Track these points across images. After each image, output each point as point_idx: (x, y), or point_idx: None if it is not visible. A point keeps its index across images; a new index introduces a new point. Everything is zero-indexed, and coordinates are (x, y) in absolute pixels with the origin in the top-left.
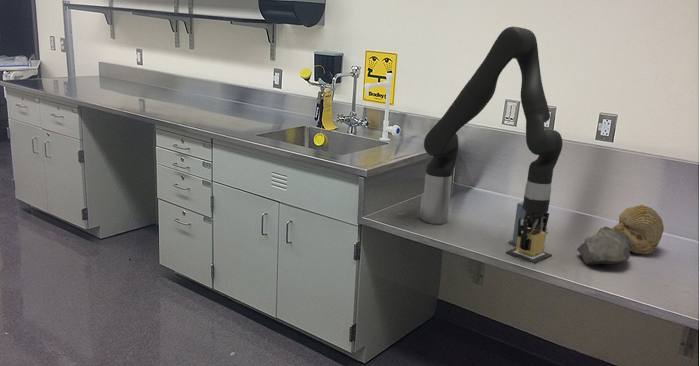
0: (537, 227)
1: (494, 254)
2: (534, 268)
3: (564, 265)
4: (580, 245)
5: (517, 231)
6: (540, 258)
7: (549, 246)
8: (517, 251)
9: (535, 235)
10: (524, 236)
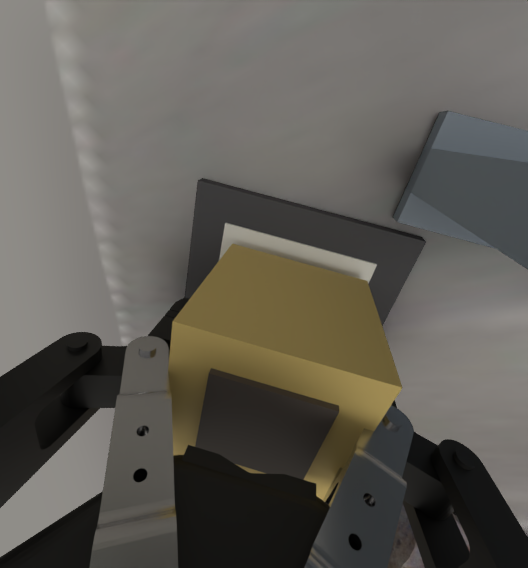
0: (325, 498)
1: (123, 116)
2: None
3: None
4: (411, 551)
5: (455, 211)
6: None
7: (515, 368)
8: (250, 246)
9: None
10: (59, 400)
